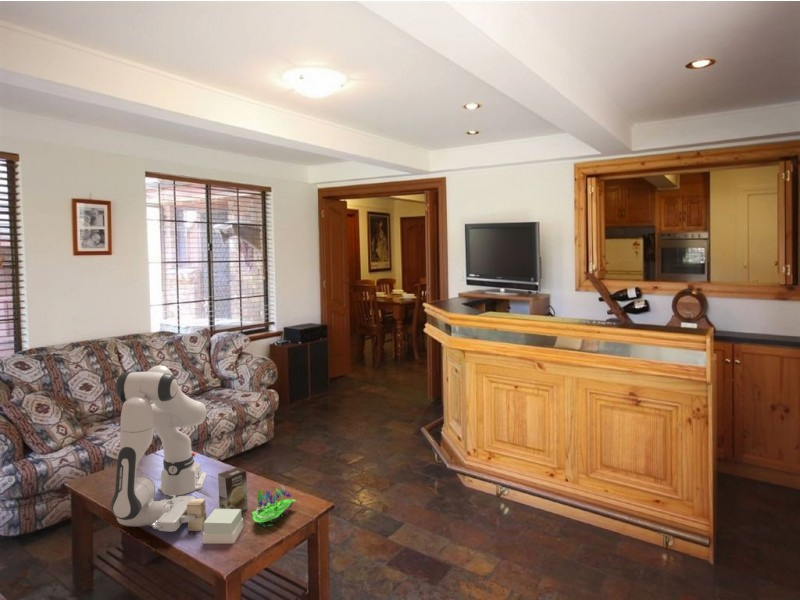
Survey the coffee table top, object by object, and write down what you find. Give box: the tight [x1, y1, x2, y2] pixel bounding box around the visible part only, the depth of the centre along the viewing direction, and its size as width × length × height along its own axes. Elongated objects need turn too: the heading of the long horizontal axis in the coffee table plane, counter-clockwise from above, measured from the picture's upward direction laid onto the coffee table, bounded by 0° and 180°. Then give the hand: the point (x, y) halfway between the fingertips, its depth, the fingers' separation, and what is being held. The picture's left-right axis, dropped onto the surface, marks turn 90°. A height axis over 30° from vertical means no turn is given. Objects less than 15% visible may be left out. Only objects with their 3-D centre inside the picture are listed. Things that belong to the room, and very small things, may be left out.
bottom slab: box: [202, 517, 245, 544], centre depth 197 cm, size 11×11×4 cm
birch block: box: [187, 498, 207, 532], centre depth 202 cm, size 5×5×10 cm
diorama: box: [251, 485, 297, 528], centre depth 208 cm, size 14×20×12 cm
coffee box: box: [217, 466, 249, 513], centre depth 213 cm, size 9×6×16 cm
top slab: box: [203, 508, 243, 534], centre depth 196 cm, size 10×10×4 cm
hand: (199, 513), depth 202 cm, fingers closed on birch block, 5 cm apart
